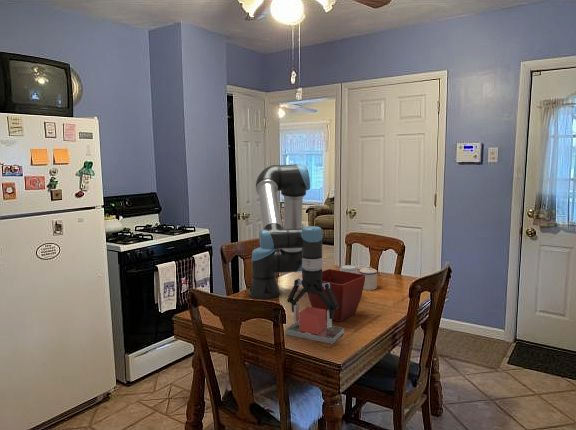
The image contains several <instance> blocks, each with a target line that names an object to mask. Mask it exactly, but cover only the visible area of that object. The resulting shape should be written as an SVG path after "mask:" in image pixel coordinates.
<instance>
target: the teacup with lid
mask: <svg viewBox="0 0 576 430" xmlns="http://www.w3.org/2000/svg"><path fill="white" fill-rule="evenodd" d="M358 271H359V272H357V274H362V275H365V282H364V287H363V290H365V291H374V290H376V289H377V288H378V270H377V269H375V268H373V267H371V265H368V264H367V265H366V266H365V267H363V268H360V269H359V270H358Z"/></svg>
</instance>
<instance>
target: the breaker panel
mask: <svg viewBox="0 0 576 430" xmlns="http://www.w3.org/2000/svg"><path fill="white" fill-rule="evenodd" d="M344 333H345V327H340V326H335V325H334V324H332V326H331V327H330V328H327V324H326V328H325V329H323V330H322V331H321V332H320V333H319V334H318V335H317V334H313V333H308V332H303V331H299V320H298V321H297V322H294V323H293V324H292V325H290V326H289V327H287V328H286V329H285V335H287V336H291V337H296V338H301V339H306V340H311V341H315V342H320V343H326V344H331V345H334V343H336V341H338V340H339V339H340V338H341V337H342V336H343V335H344Z"/></svg>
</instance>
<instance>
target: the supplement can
mask: <svg viewBox="0 0 576 430" xmlns="http://www.w3.org/2000/svg"><path fill="white" fill-rule="evenodd" d="M339 271H345V272H351V273H358V269H357V266H356V265H352V264H346V265H344V264H343V265H341V266H340V268H339Z"/></svg>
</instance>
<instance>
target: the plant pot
mask: <svg viewBox="0 0 576 430" xmlns="http://www.w3.org/2000/svg"><path fill="white" fill-rule="evenodd" d="M357 273H358V272H357ZM357 273H351V272H345V271H340V269H339V270H338V269H333V268H332V269H331V268H328V269H325V270H322V282H323V283H328V282H329V283H330V284H331V289H332V292H333V294H334V296H335V298H336V301H337V303H338V305H339V308H338V309H336V310H334V318H333V319H332V321H335V322H342V321H344V320H346V319H348V318H349V317H351V316H353V315H355V314H356V312H357V310H358V307H359V305H360V301H361V298H362V294H363V287H364V282H365V275H362V274H357ZM322 289H323V291H324V293H325V295H326V296H327V297H328V295H327V293H326V290H325V289H324V287H322ZM319 292H320V291H319ZM307 297H308V300H309V303H310V305H311V306H310V307H313V308H319V309H325V310H326V319H327V310H328V308H327V306H326V305H325V304H324V302H323V301H322V299H321V298H320V297H319V296H318V295H317V294H312V293H307ZM328 299H329V297H328Z"/></svg>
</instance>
